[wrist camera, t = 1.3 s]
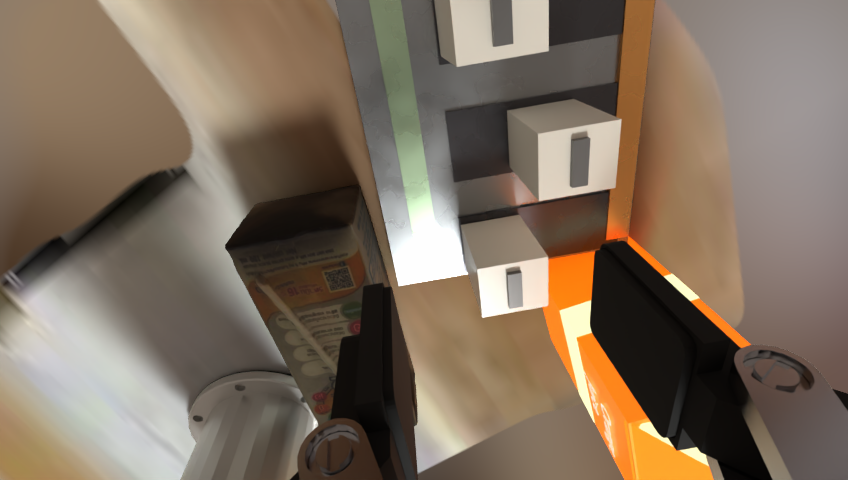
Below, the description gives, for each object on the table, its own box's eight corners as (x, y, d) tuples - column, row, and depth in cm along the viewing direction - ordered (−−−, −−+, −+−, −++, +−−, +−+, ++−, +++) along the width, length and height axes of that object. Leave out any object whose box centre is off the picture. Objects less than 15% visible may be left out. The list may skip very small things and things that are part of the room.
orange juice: (549, 340, 36) (704, 638, 19) (529, 262, 32) (704, 555, 15) (635, 312, 36) (878, 595, 18) (626, 229, 31) (931, 495, 14)
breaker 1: (512, 43, 22) (551, 51, 17) (440, 56, 22) (458, 67, 17) (509, -33, 20) (551, -49, 15) (432, -19, 20) (447, -31, 15)
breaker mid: (571, 155, 26) (618, 189, 21) (509, 166, 26) (540, 203, 20) (573, 98, 24) (624, 120, 19) (506, 110, 24) (540, 135, 19)
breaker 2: (520, 258, 29) (550, 309, 24) (465, 267, 29) (483, 320, 24) (519, 214, 27) (550, 259, 22) (460, 225, 27) (478, 272, 22)
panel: (613, 233, 31) (629, 247, 29) (398, 271, 31) (399, 288, 29) (641, -69, 22) (667, -78, 20) (335, -16, 22) (330, -20, 20)
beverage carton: (331, 388, 37) (321, 456, 31) (247, 199, 28) (211, 246, 22) (416, 370, 37) (422, 435, 31) (360, 175, 28) (353, 216, 22)
